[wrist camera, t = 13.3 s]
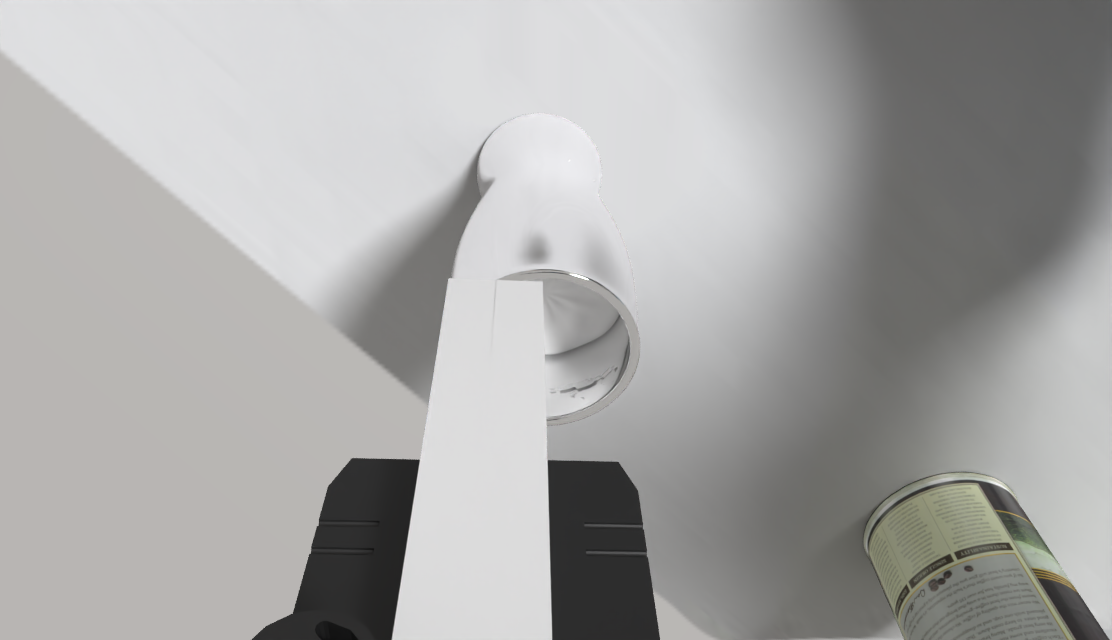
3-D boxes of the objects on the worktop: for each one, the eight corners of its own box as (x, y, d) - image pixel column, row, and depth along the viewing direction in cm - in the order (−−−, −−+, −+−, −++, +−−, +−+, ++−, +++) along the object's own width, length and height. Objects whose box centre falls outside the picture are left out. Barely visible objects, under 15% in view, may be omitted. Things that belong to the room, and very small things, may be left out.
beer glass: (577, 252, 43) (597, 452, 31) (449, 208, 41) (414, 400, 29) (634, 133, 39) (682, 304, 27) (496, 80, 38) (480, 236, 25)
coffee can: (1046, 477, 53) (1192, 678, 42) (977, 581, 59) (1089, 784, 47) (895, 462, 52) (1001, 665, 40) (839, 570, 58) (918, 775, 46)
